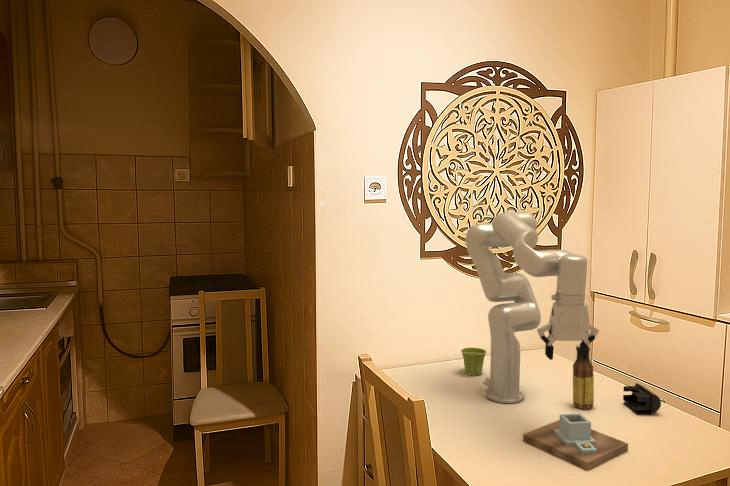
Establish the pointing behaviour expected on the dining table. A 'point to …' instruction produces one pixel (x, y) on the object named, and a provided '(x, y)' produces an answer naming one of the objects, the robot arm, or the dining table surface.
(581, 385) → the sauce bottle
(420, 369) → the dining table surface
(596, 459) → the post board
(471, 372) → the plant pot
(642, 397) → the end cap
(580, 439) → the grey bracket housing
